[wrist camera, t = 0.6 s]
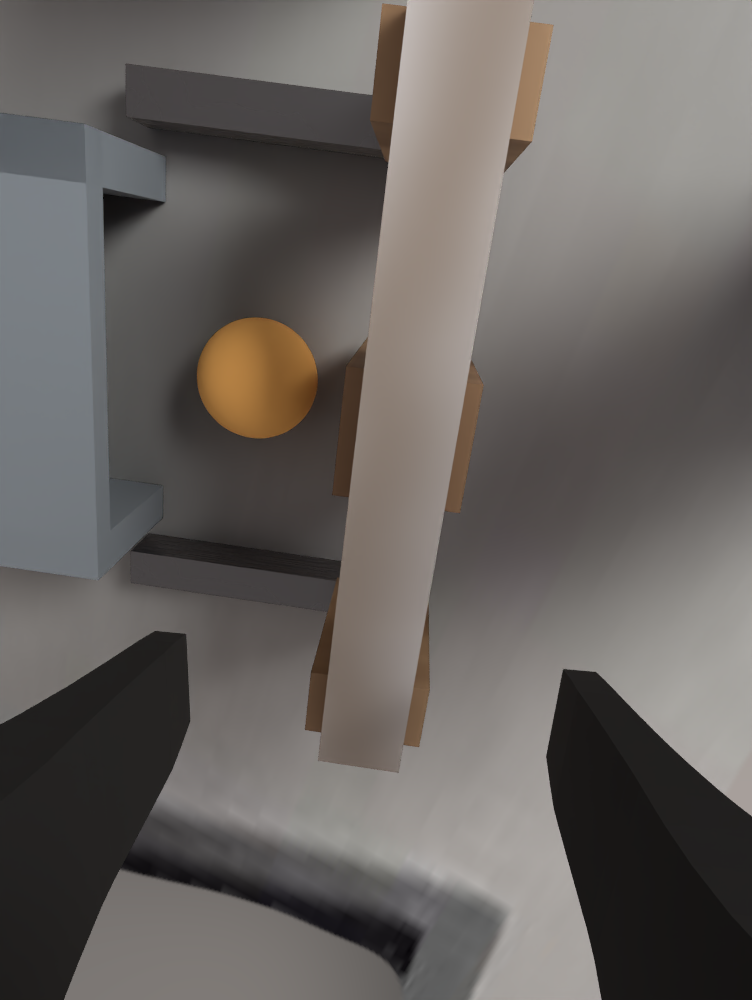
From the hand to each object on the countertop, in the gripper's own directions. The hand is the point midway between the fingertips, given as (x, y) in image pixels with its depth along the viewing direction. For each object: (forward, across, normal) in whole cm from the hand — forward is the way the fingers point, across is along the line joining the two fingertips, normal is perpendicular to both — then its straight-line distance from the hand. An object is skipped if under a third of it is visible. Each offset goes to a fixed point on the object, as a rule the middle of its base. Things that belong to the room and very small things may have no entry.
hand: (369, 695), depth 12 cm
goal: (+10, +10, -5) cm, 15 cm away
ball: (+9, +4, -4) cm, 10 cm away
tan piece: (+10, 0, -4) cm, 11 cm away
